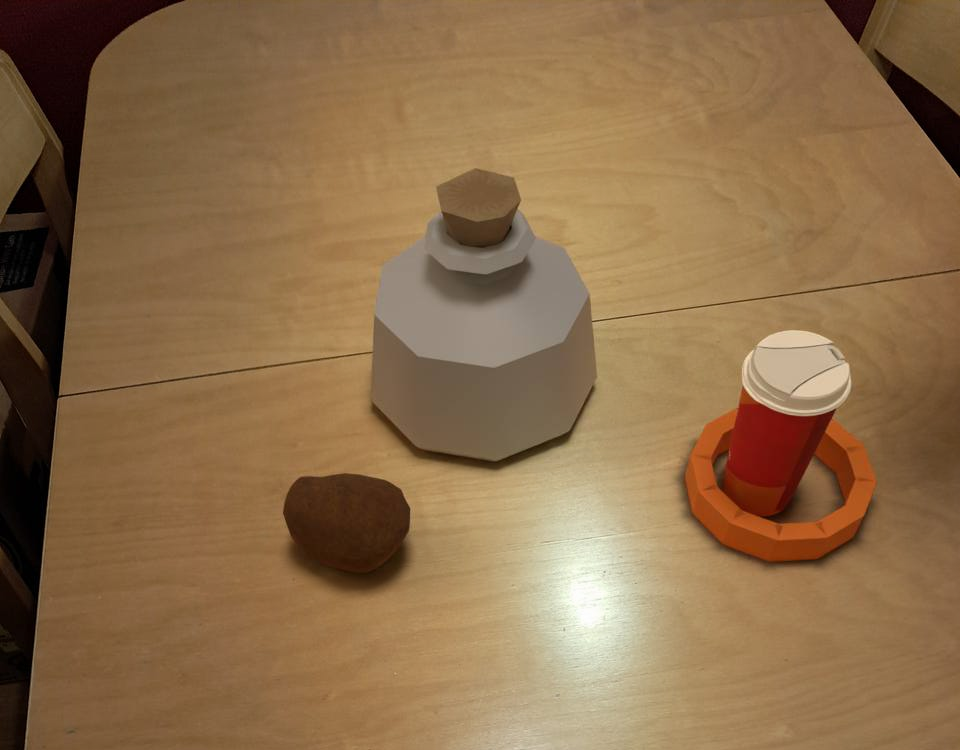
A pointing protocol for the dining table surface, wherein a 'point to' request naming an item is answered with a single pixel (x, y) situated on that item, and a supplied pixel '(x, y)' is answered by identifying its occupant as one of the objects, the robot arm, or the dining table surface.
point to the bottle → (481, 329)
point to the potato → (347, 519)
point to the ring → (767, 535)
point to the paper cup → (782, 417)
